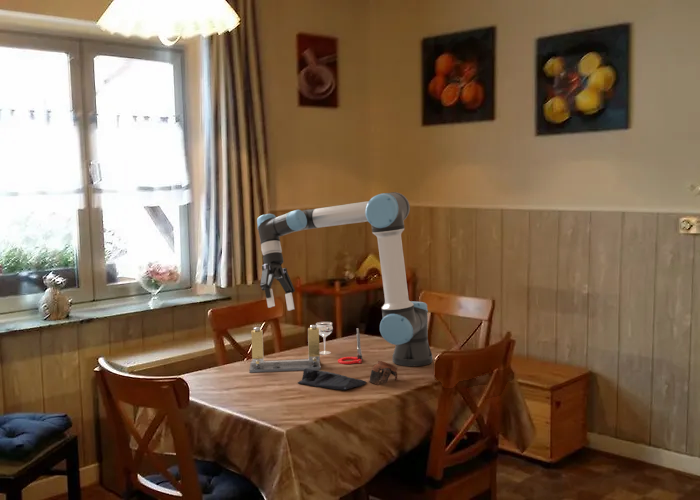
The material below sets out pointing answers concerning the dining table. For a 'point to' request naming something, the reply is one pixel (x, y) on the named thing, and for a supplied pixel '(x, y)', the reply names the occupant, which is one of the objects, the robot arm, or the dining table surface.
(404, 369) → the dining table surface
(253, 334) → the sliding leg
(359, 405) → the dining table surface
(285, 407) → the dining table surface
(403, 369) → the dining table surface
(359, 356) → the tow hook
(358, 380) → the dark folded cloth
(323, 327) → the wineglass
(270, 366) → the bolt plate
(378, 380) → the brown crumpled piece
